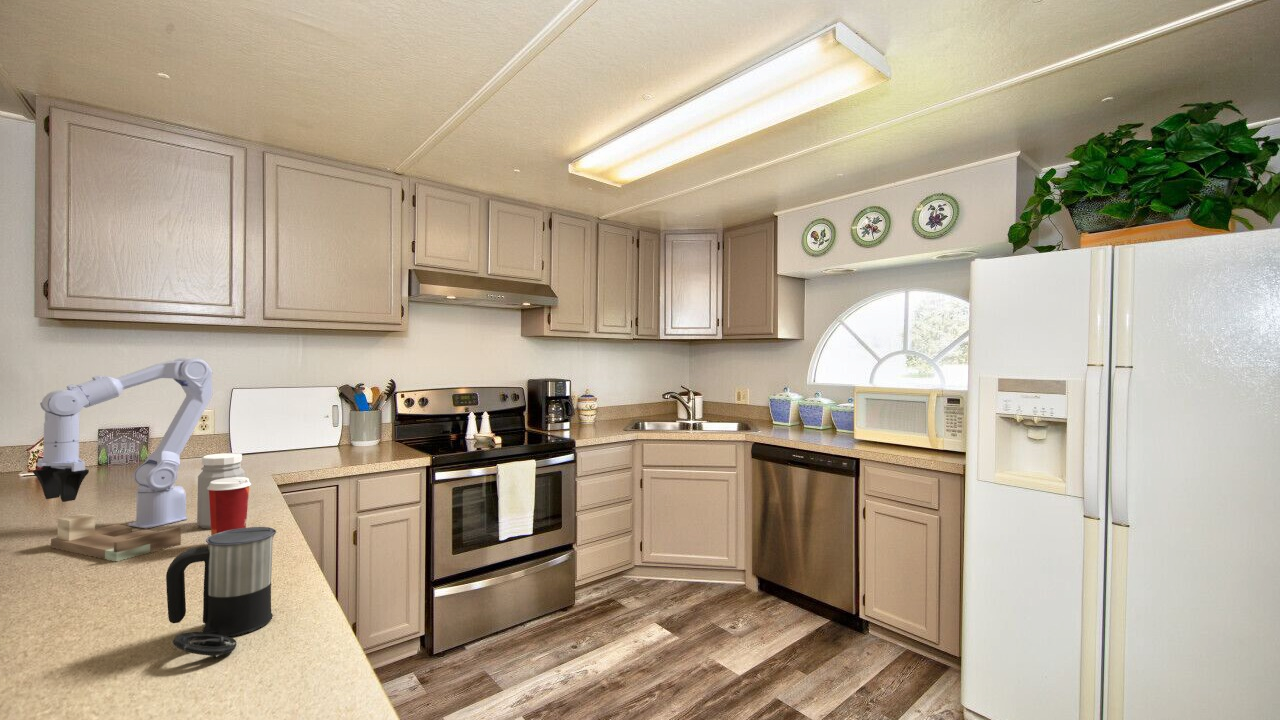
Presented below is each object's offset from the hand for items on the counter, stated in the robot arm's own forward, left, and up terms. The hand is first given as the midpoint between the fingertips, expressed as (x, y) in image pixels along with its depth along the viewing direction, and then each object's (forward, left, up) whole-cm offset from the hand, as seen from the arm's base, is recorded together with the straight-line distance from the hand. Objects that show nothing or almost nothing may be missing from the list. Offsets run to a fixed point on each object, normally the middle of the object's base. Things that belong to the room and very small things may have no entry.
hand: (60, 499), depth 127 cm
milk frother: (+16, +82, -10) cm, 84 cm away
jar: (-23, +20, -10) cm, 32 cm away
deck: (-3, +16, -10) cm, 19 cm away
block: (0, +7, -8) cm, 10 cm away
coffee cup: (-13, +38, -10) cm, 41 cm away
